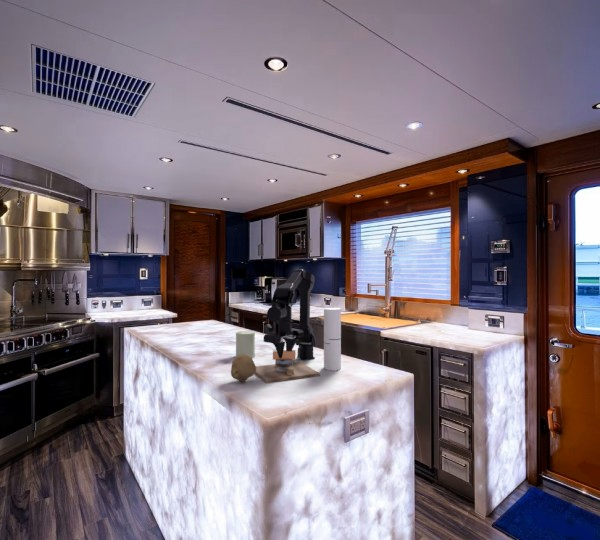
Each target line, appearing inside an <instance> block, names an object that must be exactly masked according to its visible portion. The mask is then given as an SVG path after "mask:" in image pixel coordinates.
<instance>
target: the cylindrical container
mask: <svg viewBox="0 0 600 540" xmlns="http://www.w3.org/2000/svg"><path fill="white" fill-rule="evenodd" d="M341 340H342V308H339V307H324V308H323V369H325V370H326V371H340V370H341V369H342V347H341V346H342V345H341V344H342V341H341Z"/></svg>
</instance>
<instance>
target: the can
mask: <svg viewBox="0 0 600 540" xmlns="http://www.w3.org/2000/svg"><path fill="white" fill-rule="evenodd" d="M255 340H256V332H255V331H252V330H241V331H236V332H235V357H236V356H238V355H242V354H246V355H248V356H250V357H251V358H252V359H253V358H255V357H256V347H255V344H256V341H255Z"/></svg>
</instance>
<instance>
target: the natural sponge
mask: <svg viewBox="0 0 600 540" xmlns="http://www.w3.org/2000/svg"><path fill="white" fill-rule="evenodd" d="M256 366H257V365H256V363H255V361H254V360H253V358H251V357H250V356H248V355H246V354H242V355H238V356H236V355H235V358H233V360H232V363H231V366H230V367H231V368H230V376H231V377H232V378H233V379H234V380H236V381H238V382H240V383H241V382H246V381H247V380H248V379H250V378H251V377H253V376H254V375H256V374H255V372H256Z"/></svg>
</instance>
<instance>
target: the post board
mask: <svg viewBox="0 0 600 540" xmlns="http://www.w3.org/2000/svg"><path fill="white" fill-rule="evenodd" d="M255 366H256V372H255V374H254V375H257V376H258V377H259V378H260V379H261V380H262V381H263V382H265V384H267V383H268V384H269V383H270V384H271V383H275V382H276V383H277V382H283V381H292V380H297V379H298V380H299V379H306V378H314V377H320V376H321V373H320V372H319V371H317V370H315V369H313V368H311V367H309V365H306V364H304V363H303V362H301V361H293V365H292V366H288V367H279V366H276V365H275V363H274V364H272V363H271V364H266V365H265V364H264V365H255Z"/></svg>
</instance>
